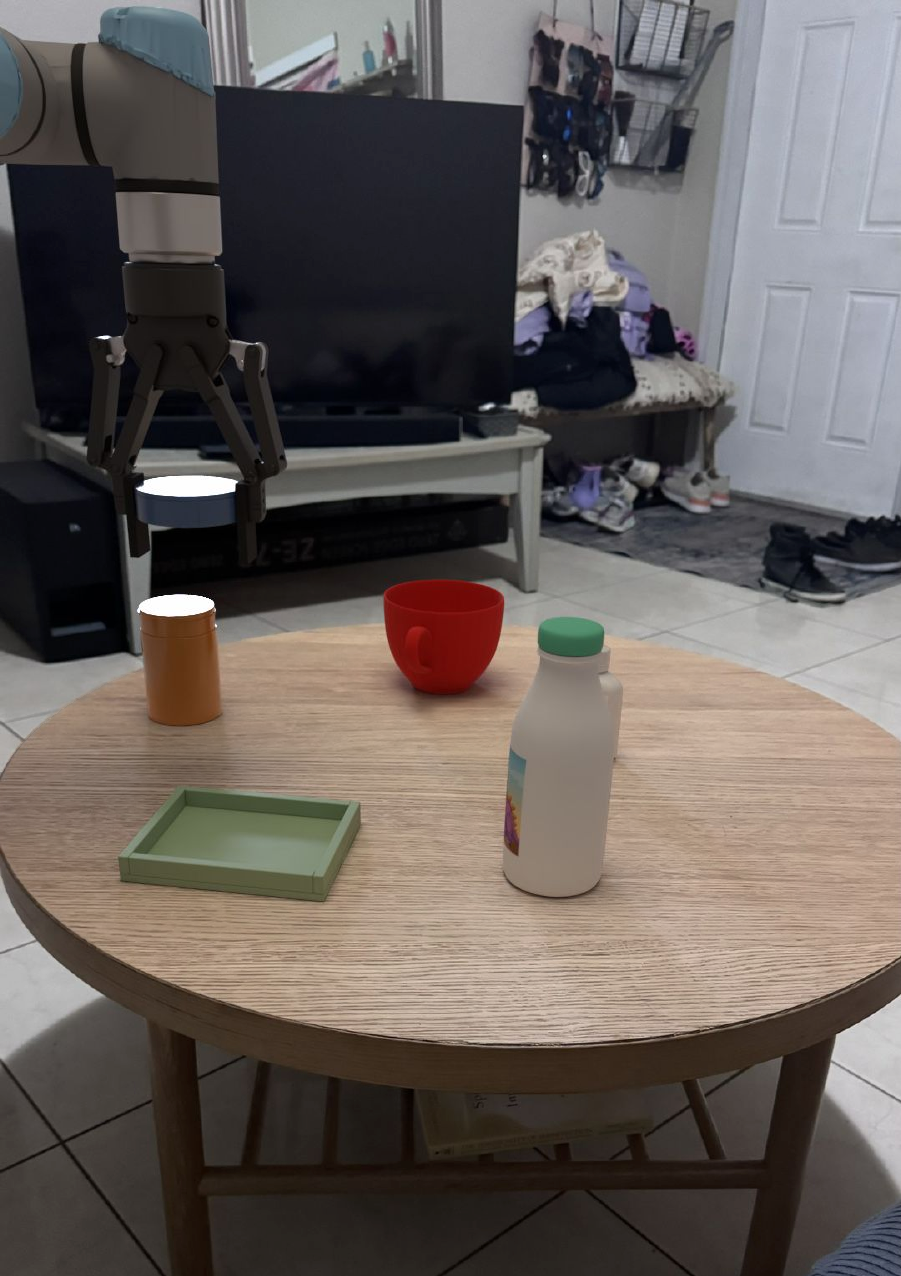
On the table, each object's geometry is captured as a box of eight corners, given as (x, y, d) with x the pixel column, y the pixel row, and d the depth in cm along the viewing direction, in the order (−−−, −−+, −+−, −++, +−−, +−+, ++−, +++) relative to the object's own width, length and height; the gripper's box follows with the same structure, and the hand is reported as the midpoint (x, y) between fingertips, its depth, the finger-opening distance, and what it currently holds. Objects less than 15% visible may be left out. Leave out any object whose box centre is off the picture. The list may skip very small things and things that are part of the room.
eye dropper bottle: (578, 767, 105) (589, 644, 99) (555, 744, 109) (564, 626, 104) (621, 763, 106) (634, 641, 101) (596, 740, 111) (607, 623, 105)
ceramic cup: (350, 707, 117) (349, 614, 112) (407, 658, 131) (408, 574, 127) (469, 725, 113) (473, 630, 109) (513, 673, 128) (518, 587, 123)
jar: (136, 722, 111) (125, 613, 106) (164, 696, 118) (154, 592, 113) (208, 728, 110) (200, 618, 105) (231, 702, 117) (225, 597, 112)
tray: (120, 880, 84) (117, 856, 83) (180, 807, 95) (178, 784, 94) (323, 901, 82) (323, 876, 81) (360, 824, 93) (360, 801, 92)
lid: (254, 525, 91) (253, 493, 90) (144, 531, 88) (141, 498, 87) (232, 503, 98) (231, 474, 97) (130, 508, 95) (128, 478, 94)
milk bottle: (617, 867, 88) (644, 620, 79) (575, 910, 82) (600, 649, 73) (529, 841, 91) (546, 602, 82) (483, 881, 85) (496, 628, 76)
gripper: (323, 264, 87) (328, 554, 97) (58, 255, 89) (90, 539, 99) (299, 265, 80) (307, 576, 90) (13, 255, 82) (52, 560, 92)
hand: (194, 557), depth 94 cm, fingers closed on lid, 9 cm apart
